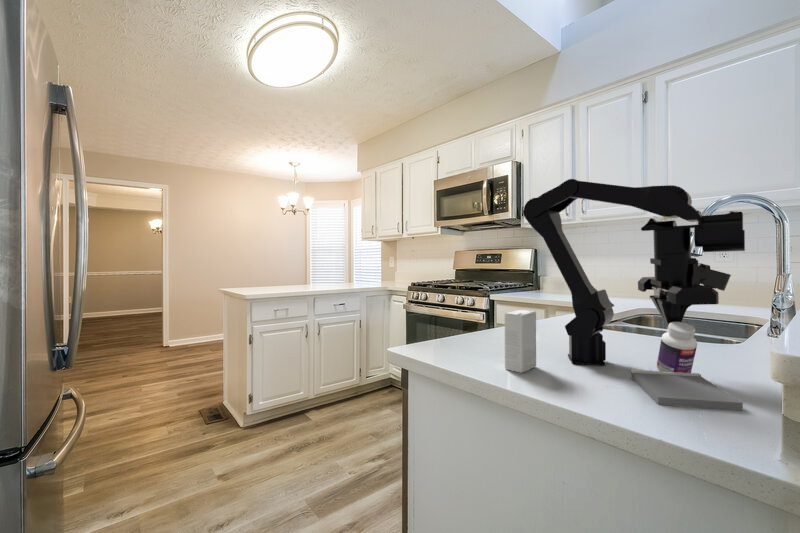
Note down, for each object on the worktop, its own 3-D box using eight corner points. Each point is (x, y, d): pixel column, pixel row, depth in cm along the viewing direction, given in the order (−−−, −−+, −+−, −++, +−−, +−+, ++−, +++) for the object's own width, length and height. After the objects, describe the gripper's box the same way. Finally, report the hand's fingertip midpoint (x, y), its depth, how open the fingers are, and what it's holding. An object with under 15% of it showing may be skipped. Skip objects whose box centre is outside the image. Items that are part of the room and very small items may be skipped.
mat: (658, 404, 58) (658, 395, 58) (631, 377, 71) (631, 369, 71) (742, 410, 55) (742, 400, 55) (698, 381, 68) (698, 373, 68)
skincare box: (518, 363, 82) (517, 308, 82) (537, 367, 79) (537, 310, 78) (503, 369, 78) (502, 312, 77) (523, 374, 75) (522, 314, 74)
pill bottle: (680, 383, 68) (689, 337, 65) (650, 368, 73) (657, 325, 69) (696, 373, 70) (706, 328, 67) (666, 359, 75) (674, 316, 72)
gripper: (756, 252, 60) (757, 347, 61) (695, 248, 78) (697, 321, 79) (676, 256, 62) (678, 347, 63) (636, 251, 80) (638, 322, 81)
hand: (674, 333), depth 72 cm, fingers closed, pressing on pill bottle
